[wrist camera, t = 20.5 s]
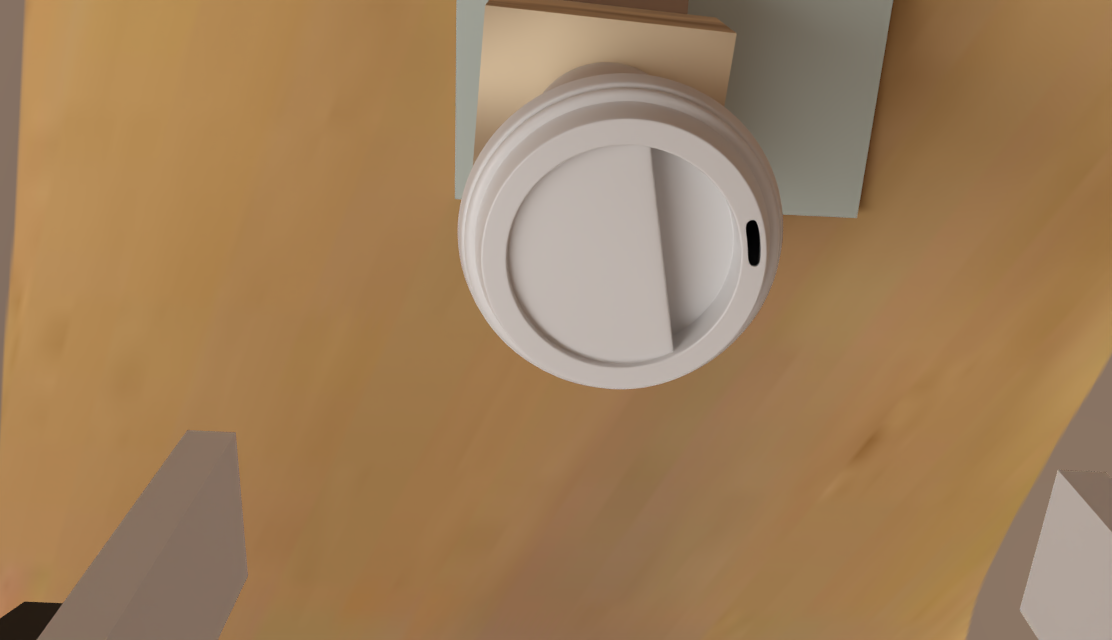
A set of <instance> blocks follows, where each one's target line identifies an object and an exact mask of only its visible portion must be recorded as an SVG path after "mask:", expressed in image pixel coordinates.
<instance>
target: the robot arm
mask: <svg viewBox="0 0 1112 640" xmlns="http://www.w3.org/2000/svg"><path fill="white" fill-rule="evenodd" d="M247 577H248V572H247V560H246V548H245V537H244V525H243V513H242V501H241V490H240V478H239V466H238V454H237V443H236V432H214V431H192V430H187V431H186V433H185V434H184V436H183V437H182V438H181V440H180V441H179V443H178V444H177V445H176V447H175V448H174V449H173V451H172V452H171V454H170V455H169V456H168V458H167V459H166V461H165V462H164V463H163V465H162V466H161V468H160V469H159V470H158V472H157V473H156V475H155V476H154V477H153V479H152V480H151V481H150V483H149V484H148V486H147V487H146V488H145V490H144V491H143V493H142V494H141V495H140V497H139V498H138V500H137V501H136V502H135V504H134V505H133V506H132V508H131V509H130V511H129V512H128V513H127V515H126V516H125V518H124V519H123V520H122V522H121V523H120V525H119V526H118V527H117V529H116V530H115V532H114V533H113V534H112V536H111V537H110V538H109V540H108V541H107V543H106V544H105V545H104V547H103V548H102V550H101V551H100V552H99V554H98V555H97V557H96V558H95V559H94V561H93V562H92V564H91V565H90V566H89V568H88V569H87V570H86V572H85V573H84V575H83V576H82V577H81V579H80V580H79V582H78V583H77V584H76V586H75V587H74V589H73V590H72V591H71V593H70V594H69V596H68V597H67V598H66V600H65V601H64V602H63V603H42V602H23V603H22V604H20V605H19V606H18V607H16V608H15V609H13V610H12V611H10V612H9V613H7V614H6V615H5V616H3V617H2V618H0V640H218V638H219V636H220V634H221V632H222V630H223V627H224V625H225V623H226V621H227V619H228V617H229V615H230V613H231V610H232V608H233V606H234V604H235V602H236V600H237V598H238V596H239V594H240V591H241V589H242V587H243V585H244V583H245V581H246V579H247ZM1020 611H1021V613H1022V614H1023V616H1024V618H1025V619H1026V621H1027V622H1028V624H1029V625H1030V627H1031V628H1032V630H1033V632H1034V633H1035V635H1036V636H1037V638H1038V639H1039V640H1112V478H1111V477H1110V476H1109V475H1108V474H1107V473H1106V472H1095V471H1094V472H1092V471H1073V470H1058V471H1057V475H1056V479H1055V482H1054V486H1053V490H1052V493H1051V497H1050V501H1049V505H1048V508H1047V512H1046V515H1045V519H1044V523H1043V526H1042V530H1041V534H1040V537H1039V541H1038V545H1037V548H1036V552H1035V556H1034V559H1033V563H1032V567H1031V570H1030V574H1029V578H1028V581H1027V585H1026V589H1025V592H1024V596H1023V600H1022V603H1021V607H1020Z"/></svg>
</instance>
